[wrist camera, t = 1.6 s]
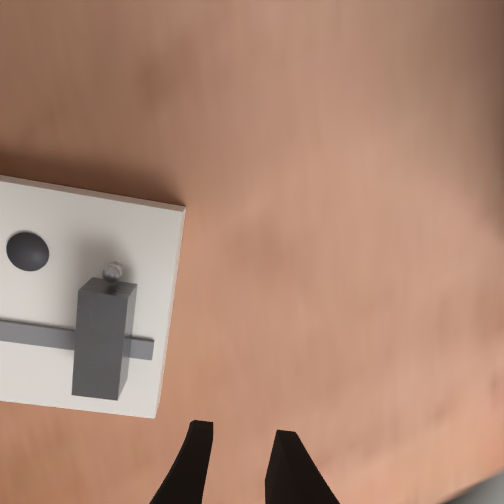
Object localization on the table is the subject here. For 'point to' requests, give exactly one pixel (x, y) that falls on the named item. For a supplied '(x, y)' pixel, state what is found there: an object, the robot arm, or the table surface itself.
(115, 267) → the block
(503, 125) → the table surface
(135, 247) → the board
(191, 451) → the robot arm
